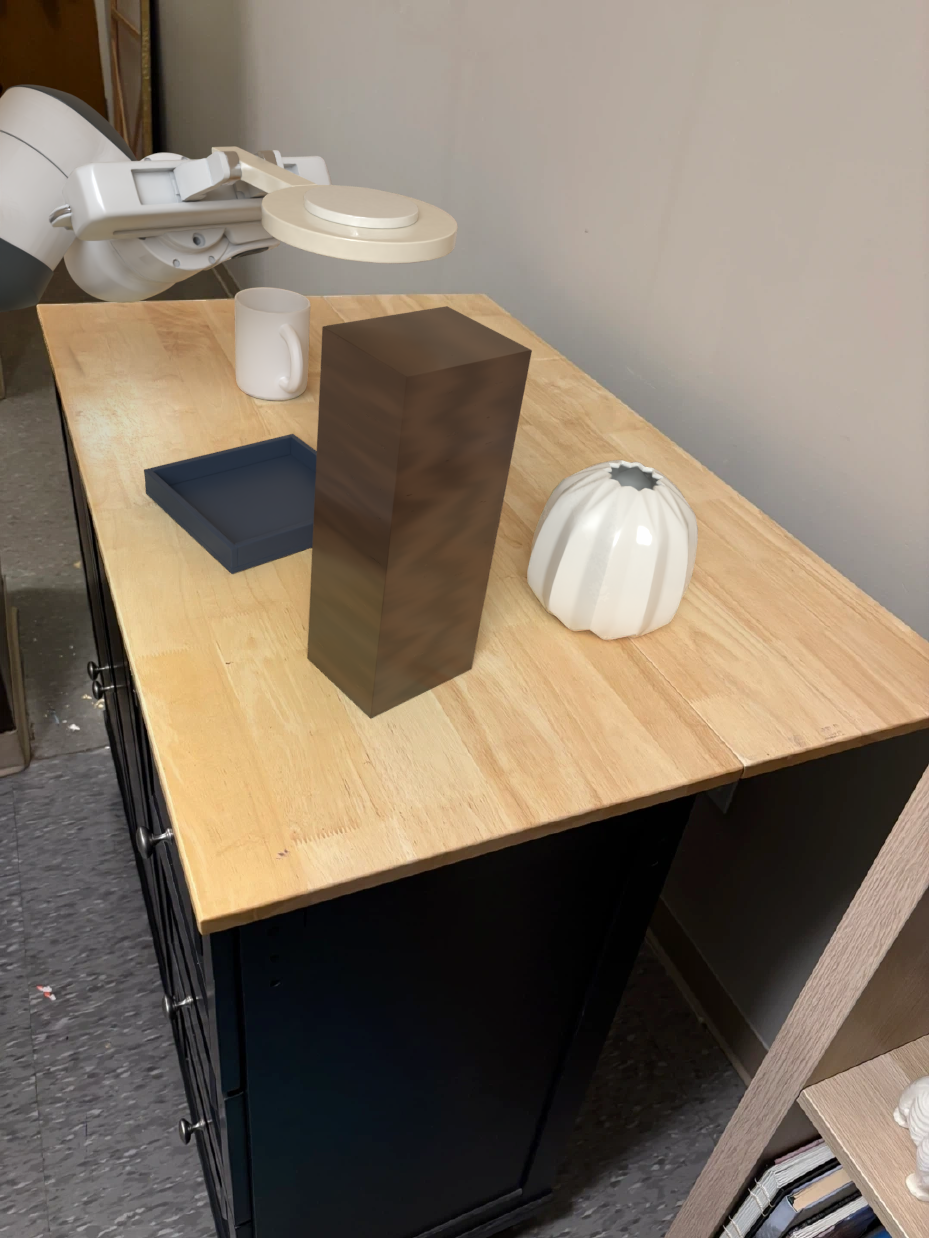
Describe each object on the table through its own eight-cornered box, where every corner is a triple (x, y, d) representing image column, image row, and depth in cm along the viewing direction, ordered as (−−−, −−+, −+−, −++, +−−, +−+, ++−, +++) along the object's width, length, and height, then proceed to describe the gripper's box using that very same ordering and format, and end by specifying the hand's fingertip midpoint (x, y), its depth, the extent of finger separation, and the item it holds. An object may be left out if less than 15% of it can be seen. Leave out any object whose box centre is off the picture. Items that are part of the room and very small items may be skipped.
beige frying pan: (338, 273, 50) (340, 239, 49) (145, 168, 62) (143, 139, 61) (494, 252, 57) (499, 222, 56) (294, 162, 69) (295, 135, 68)
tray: (231, 574, 77) (231, 549, 75) (145, 493, 85) (143, 469, 84) (382, 524, 87) (384, 500, 85) (292, 456, 95) (292, 433, 93)
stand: (370, 719, 66) (406, 377, 50) (306, 658, 70) (322, 326, 54) (471, 669, 72) (532, 350, 56) (407, 616, 76) (447, 306, 60)
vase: (704, 634, 80) (755, 501, 72) (583, 676, 73) (624, 535, 65) (605, 552, 88) (640, 425, 80) (487, 583, 81) (513, 448, 73)
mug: (331, 412, 104) (336, 324, 98) (261, 420, 100) (262, 328, 94) (291, 370, 112) (294, 285, 106) (225, 375, 108) (224, 288, 102)
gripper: (27, 180, 66) (90, 112, 56) (269, 171, 78) (359, 113, 68) (55, 271, 68) (122, 221, 57) (288, 248, 80) (379, 203, 69)
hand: (253, 162), depth 63 cm, fingers closed on beige frying pan, 2 cm apart
